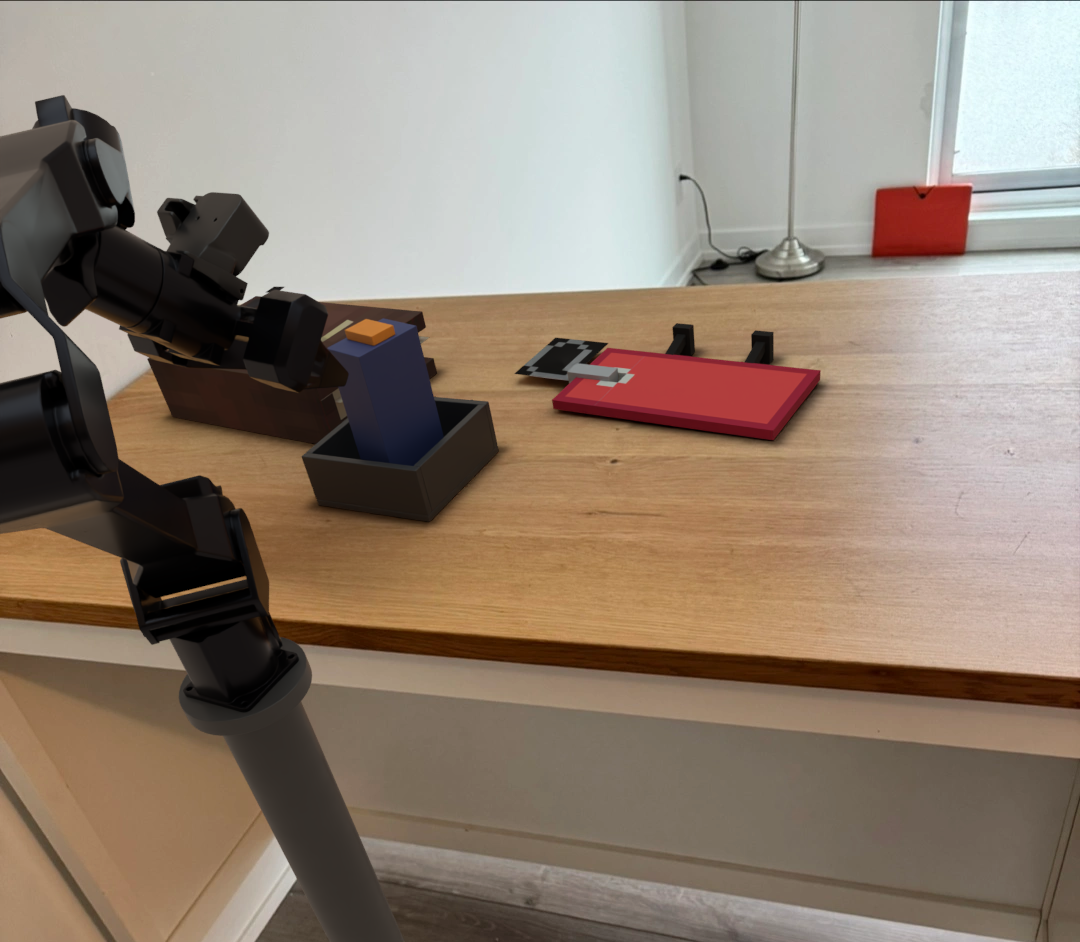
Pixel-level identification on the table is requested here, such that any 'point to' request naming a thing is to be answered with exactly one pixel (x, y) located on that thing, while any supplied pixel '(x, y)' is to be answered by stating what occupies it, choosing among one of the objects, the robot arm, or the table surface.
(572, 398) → the red board with handle
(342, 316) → the decorative book
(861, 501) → the table surface
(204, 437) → the table surface
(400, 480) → the bin
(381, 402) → the block
